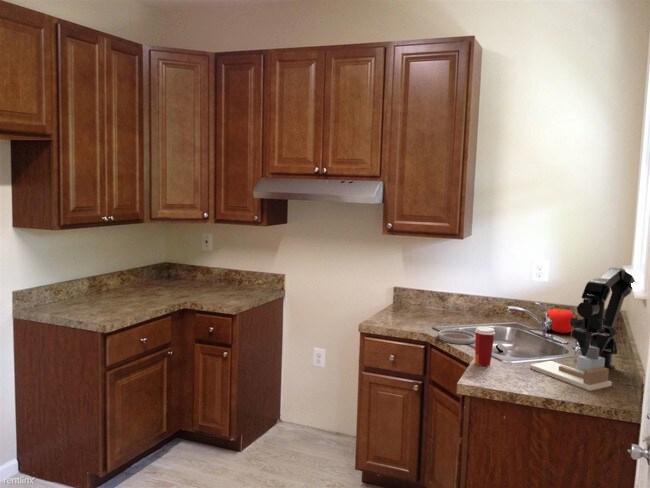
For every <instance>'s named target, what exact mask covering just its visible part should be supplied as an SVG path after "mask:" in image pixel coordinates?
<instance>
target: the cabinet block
mask: <svg viewBox="0 0 650 488" xmlns="http://www.w3.org/2000/svg"><path fill="white" fill-rule="evenodd" d="M604 364H605V358H603V357H599V348H596V347H593V346H591V345H590V346H589V348H588V351H587V354H586V356H582V355H578V356H577V359H576V370H579V371H582V372H584V371H585V370H589V369H594V368H599V367H604Z"/></svg>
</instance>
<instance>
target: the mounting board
mask: <svg viewBox="0 0 650 488" xmlns="http://www.w3.org/2000/svg"><path fill="white" fill-rule="evenodd" d="M529 369H531V370H534V371H536V372H539V373H541V374H544V375H547V376H550V377H552V378H554V379H557V380H560V381H563V382H566V383H568V384H571V385H573V386H575V387H579V388H581V389H584V390H586V391H590V392H591V391H594V390H595V391H596V390H599V389H603V388H608V387H612V383H613V381H610V380H609V373H610V372H609V371H610V368H609V369H607V368H604V367H599V368H594V369H589V370H585V371H584V372H582V371H579V370H577V368H573V367H571V366H567V365H564V364H562V363H559V362H556V361H552V360H547V361H543V362H536V363H531V364H529Z"/></svg>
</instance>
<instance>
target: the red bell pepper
mask: <svg viewBox="0 0 650 488" xmlns="http://www.w3.org/2000/svg"><path fill="white" fill-rule="evenodd" d="M546 313H547V314H548V315H549V317H550V319H551V320H552V321H553V325H552V330H553V332H557V333H559V334H560V333H561V334H567V333H570V332H571V331H572V330H574V329H573V327H572V326H571V325H570V320H571V318H575V316H574V314H573V312H572V311H570V310H567V309H564V308H563V309H562V308H561V307H560V308H558V307H557V308H551V309H549V310H547V312H546ZM552 330H551V331H552Z"/></svg>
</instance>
